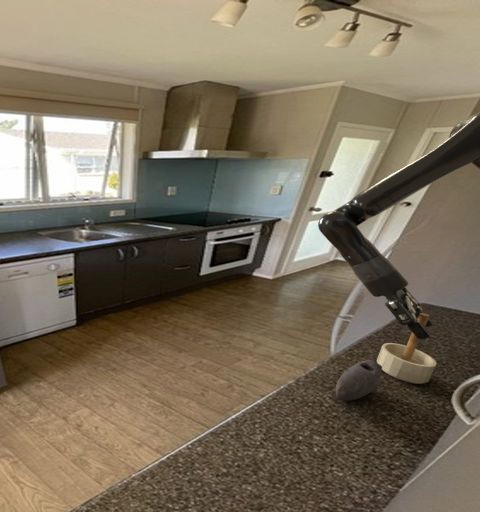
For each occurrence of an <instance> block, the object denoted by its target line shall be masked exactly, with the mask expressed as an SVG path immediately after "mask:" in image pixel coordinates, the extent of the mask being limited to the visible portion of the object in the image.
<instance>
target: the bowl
mask: <svg viewBox="0 0 480 512" xmlns="http://www.w3.org/2000/svg"><path fill="white" fill-rule="evenodd" d="M406 346H407V345H405V344H400V343H396V342H395V343H394V342H386V343H383V344H382V345H381V348H380V350H379V354H378V356H377V358H376V363H378V364H379V365H381V366H382V372H384V373H386V374H387V375H389V376H391V377H393V378H395V379H398V380H400V381H403V382H406V383H410V384H415V385H422V384H426V383H429V381H430V380H431V377H432V375H433V373H434V371H435V369H436V366H437V364H438V363H437V361H436V359H434V358H433V357H432V356H430V355H429V354H427V353H426V352H424V351H421V350H419V349H417V348H416V349H415V352H414V354H413V356H412V359H411V361H410V362H408V361H405V360H403V359H401V358H402V356H403V353H404V351H405V349H406Z"/></svg>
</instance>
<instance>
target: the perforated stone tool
mask: <svg viewBox="0 0 480 512" xmlns="http://www.w3.org/2000/svg"><path fill="white" fill-rule="evenodd" d="M382 375H383V370H382V366H381V365H379V364H378V363H377V361H375V360H374V359H366V360H362V361H359V362H357V363H355V364H354V365H352V366H350V367H348V368H347V369H345V371H344V372H343V373H342V374H341V375H340V377H339V379H338V380H337V382H336V385H335V396H336V398H337V399H339V400H340V401H347V402H349V401H355V400H358V399H361V398H363V397H365V396H367V395H369V394H370V393H371V394H372V392H374V391H375V390H377V388H379V387H380V386H381V384H382V378H381V376H382Z"/></svg>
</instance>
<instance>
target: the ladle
mask: <svg viewBox="0 0 480 512" xmlns="http://www.w3.org/2000/svg"><path fill="white" fill-rule="evenodd" d="M428 319H430V315H429V314H428V313H424V312H423V313H420V314H419V316H418V321H419V323H420V324H421V325H422V326H423V327H424V328H425V329H426V327H425V325H426V323H427V321H428ZM420 340H421V339H418V338H417V337H416V336H415V335H414V334H413V332H412V331H411V334H410V336H409V338H408V341H407V344H406V345H405V346H406V349H405V351H404V353H403V356H402V358H401V359H403V360H405V361H408V362H410V361H411V359H412V356H413V354H414V352H415V349H417V347H418V344H419V342H420Z"/></svg>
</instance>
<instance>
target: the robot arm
mask: <svg viewBox="0 0 480 512" xmlns="http://www.w3.org/2000/svg"><path fill="white" fill-rule="evenodd" d="M469 164H472V165H473V166H474V167H476V168H477V169H478V170H480V111H479V112H477V113H474V114H472V115H469V116H468V117H466V118H464V119H462V120H461V121H459V122H458V123H457V124H456V125H454V126H453V127H452V129H451V131H450V133H449V135H448V138H447V140H445V141H443V142H442V143H441V144H439V145H438V146H436V147H435V148H433V149H432V150H431V151H429V152H428V153H425V154H424V155H423V156H421V157H420V158H418V159H416V160H414V161H413V162H411V163H409V164H407V165H406V166H403V167H402V168H400V169H398V170H396V171H394V172H392V173H390V174H388V175H386V176H385V177H383V178H382V179H380V180H377V182H375V183H373V184H372V185H370V186H368V187H367V188H366V189H364V190H362V191H360V192H359V193H357V194H356V195H354V197H353V198H351V200H350V201H348V202H346V203H345V204H342V205H341V206H340V207H338V208H336V209H334V210H333V211H329V212H327V213H325V214H323V215H322V216H321V217H320V219H319V220H318V225H317V227H318V230H319V232H320V233H321V235H323V236H324V238H326V240H327V241H328V242H329V243H330V244H331V245H332V246H333V247H334V248H335V249H336V250H337V251H338V253H339V254H340V256H341V257H342V259H343V260H344V261H345V262H346V263H347V265H348V266H349V267H350V268H351V270H352V271H353V274H354V275H355V276H356V277H357V278H358V280H359V281H360V282H361V283H362V284H363V286H364V287H365V288H366V290H367V291H368V292H369V293H370V295H372V296H373V297H374V298H380V297H385V299H386V300H387V301H386V302H384V305H385V307H386V308H387V309H388V311H390V312H391V314H392V316H394V318H395V319H396V320H397V321H398V322H399V324H400V325H401V326H402V327H403V326H406V327H407V328H408V329H409V330H410V332H411V333H412V332H413V334H414V335H415V336H416V337H417V338H418V339H420V340H425V339H430V337H431V334H430V333H429V332H428V331H427V329H426V328H428V327H432V326H433V322H432V321H431V319H430V318H428V321H427V323H426V325H425V328H424V327H423V326H422V325H421V324H420V323H419V321H418V316H419V314H420V313H424V312H423V308H422V305H421V303H420V302H419V301H418V300H417V299H416V297H414V296H413V295H412V293H411V292H410V291H409V290H408V289H407V287H408V285H409V281H407V279H406V278H405V277H404V276H403V274H401V272H400V271H399V270H398V269H397V268H396V266H394V265H393V264H392V262H391V261H390V260H389V259H388V258H387V257H385V256H384V255H383V254H382V253H381V251H380V250H379V249H378V248H377V247H376V246H375V245H374V244H373V242H371V240H369V239H368V238H367V237H365V235H364V234H363V233H362V231H361V230H360V229H359V228H358V226H360V225H361V224H363V223H364V222H366V221H368V220H369V219H372V218H374V217H376V216H378V215H380V214H382V213H383V212H385V211H388V209H390V208H392V207H394V206H395V205H398V204H399V203H400V202H403V201H404V200H406V199H408V198H409V197H411V196H412V195H414V194H416V193H418V192H419V191H421V190H423V189H424V188H426V187H428V186H430V185H432V184H433V183H435V182H436V181H439V180H440V179H442V178H444V177H445V176H447V175H449V174H451V173H453V172H455V171H457V170H459V169H461V168H464V167H466V166H467V165H469ZM405 317H406V318H405Z"/></svg>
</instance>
